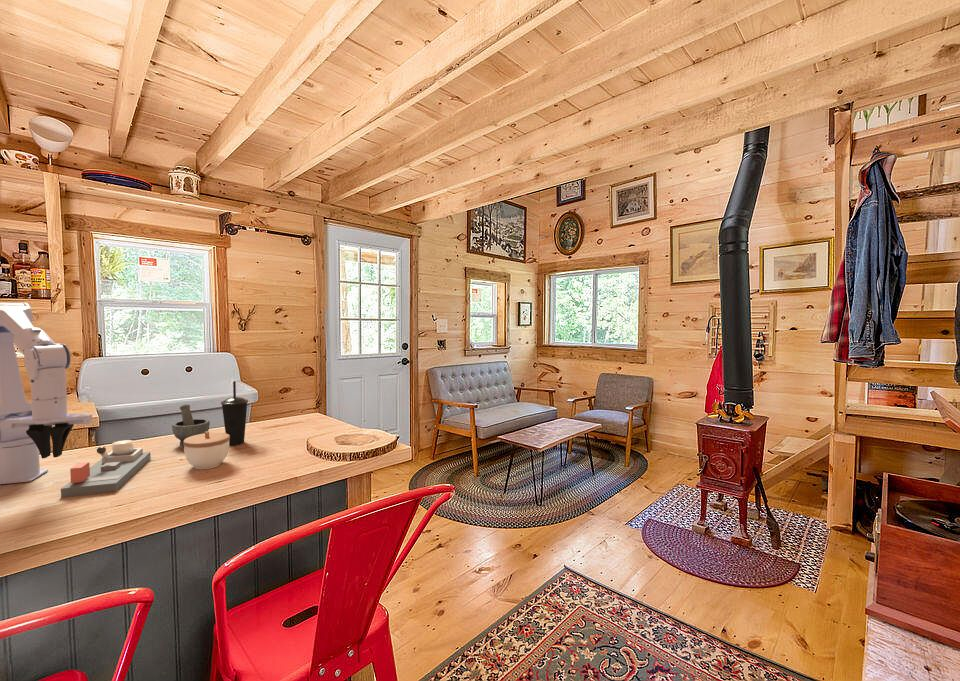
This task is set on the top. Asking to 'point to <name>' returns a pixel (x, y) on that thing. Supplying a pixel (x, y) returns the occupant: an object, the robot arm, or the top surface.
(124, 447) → the push button
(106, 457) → the toggle lever
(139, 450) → the panel
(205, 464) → the lidded jar
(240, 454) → the top surface
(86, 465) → the slide paddle
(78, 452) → the top surface
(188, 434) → the mortar and pestle
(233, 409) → the drinking cup
